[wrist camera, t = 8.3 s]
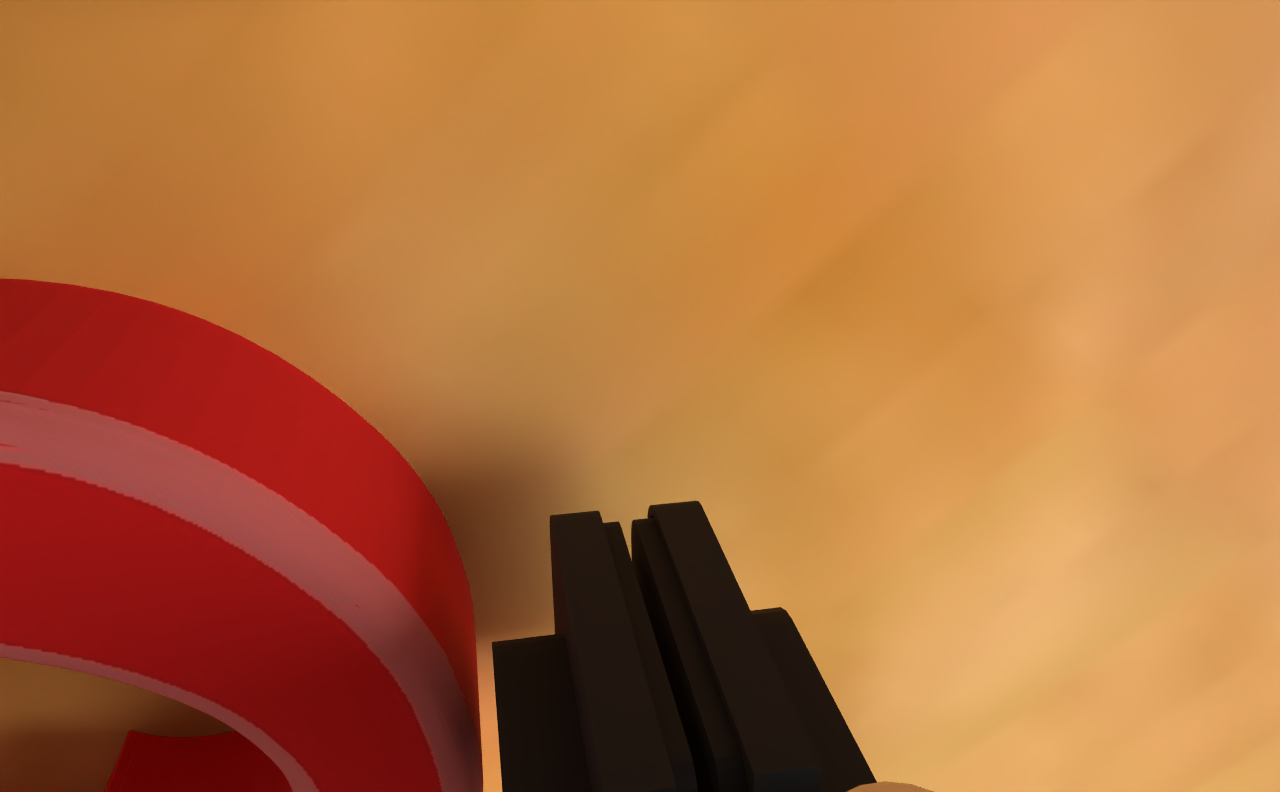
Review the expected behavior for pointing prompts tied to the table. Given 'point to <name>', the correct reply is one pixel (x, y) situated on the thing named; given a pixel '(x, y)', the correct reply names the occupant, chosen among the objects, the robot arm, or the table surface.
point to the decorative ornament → (227, 554)
